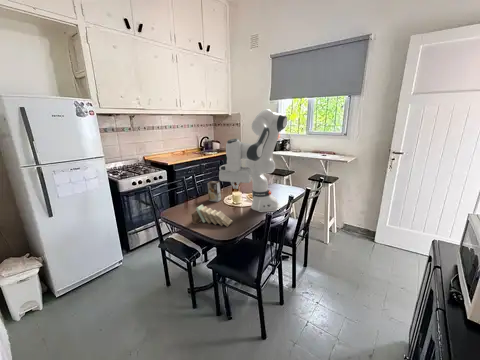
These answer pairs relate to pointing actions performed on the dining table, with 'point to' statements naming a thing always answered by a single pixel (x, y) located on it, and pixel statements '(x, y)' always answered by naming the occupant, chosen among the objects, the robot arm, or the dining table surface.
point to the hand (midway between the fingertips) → (235, 188)
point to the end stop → (195, 218)
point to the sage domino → (200, 213)
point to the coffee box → (214, 191)
